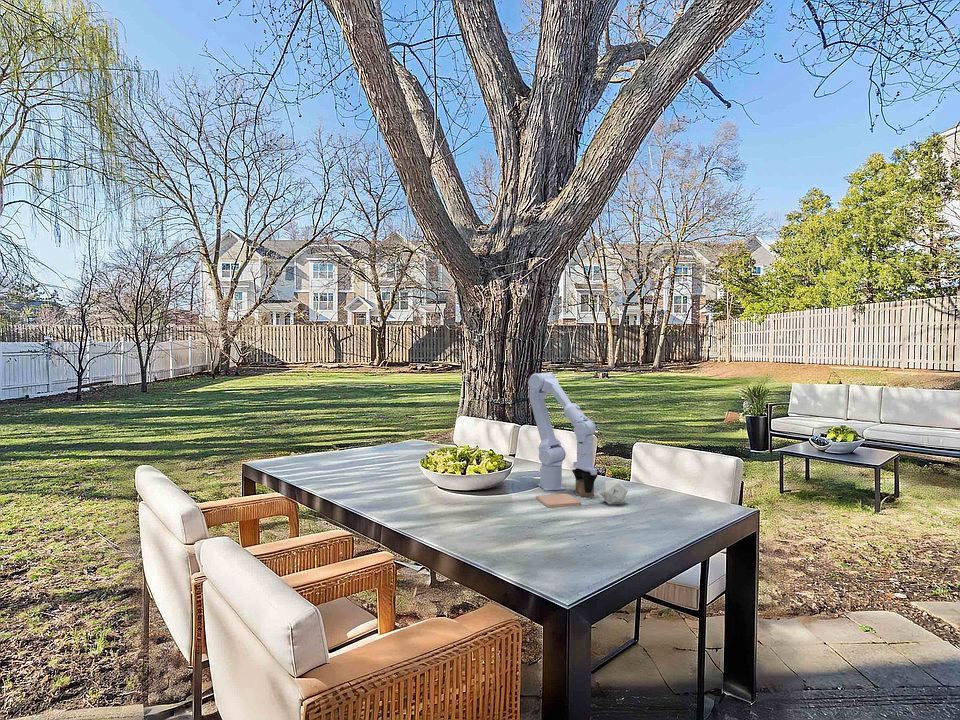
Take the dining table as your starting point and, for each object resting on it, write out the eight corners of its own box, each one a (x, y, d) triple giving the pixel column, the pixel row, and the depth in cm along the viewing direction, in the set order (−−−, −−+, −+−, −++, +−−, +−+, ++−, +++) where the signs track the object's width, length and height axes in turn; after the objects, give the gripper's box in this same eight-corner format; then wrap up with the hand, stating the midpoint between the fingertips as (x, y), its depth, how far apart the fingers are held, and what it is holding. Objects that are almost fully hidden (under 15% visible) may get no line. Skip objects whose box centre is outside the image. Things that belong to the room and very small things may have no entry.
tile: (536, 498, 206) (536, 495, 206) (567, 496, 209) (567, 493, 209) (547, 507, 194) (547, 504, 194) (581, 505, 197) (581, 502, 197)
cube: (575, 493, 213) (575, 479, 213) (588, 492, 214) (588, 479, 214) (581, 496, 208) (581, 482, 208) (593, 495, 209) (594, 482, 209)
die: (595, 504, 200) (603, 486, 194) (601, 487, 207) (609, 469, 201) (618, 514, 198) (626, 496, 193) (623, 497, 205) (632, 479, 199)
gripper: (566, 450, 217) (565, 486, 217) (584, 457, 203) (584, 496, 203) (583, 449, 219) (582, 485, 219) (602, 456, 205) (602, 494, 205)
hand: (584, 490), depth 211 cm, fingers closed on cube, 5 cm apart
